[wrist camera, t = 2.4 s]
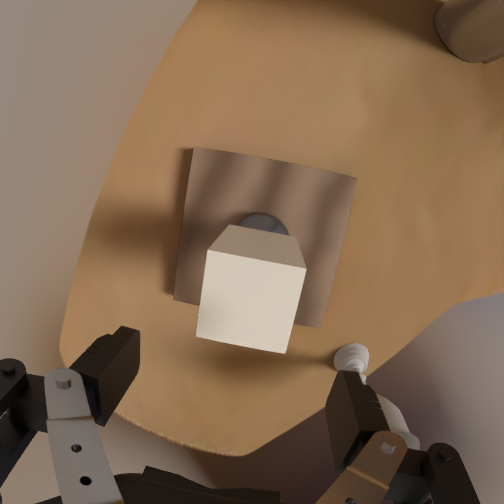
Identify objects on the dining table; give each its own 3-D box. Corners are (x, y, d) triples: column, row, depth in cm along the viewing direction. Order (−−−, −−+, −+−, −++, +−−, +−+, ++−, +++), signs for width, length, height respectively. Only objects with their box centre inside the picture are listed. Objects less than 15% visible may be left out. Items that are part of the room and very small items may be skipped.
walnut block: (352, 177, 35) (357, 177, 33) (318, 321, 40) (320, 328, 38) (198, 148, 35) (194, 147, 34) (177, 294, 40) (173, 299, 38)
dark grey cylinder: (295, 218, 35) (303, 236, 25) (283, 274, 36) (286, 311, 27) (237, 207, 35) (222, 221, 25) (227, 263, 36) (210, 296, 27)
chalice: (315, 366, 41) (332, 468, 24) (346, 328, 40) (384, 423, 22) (355, 386, 42) (385, 482, 24) (386, 351, 40) (433, 441, 23)
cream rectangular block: (296, 237, 27) (306, 268, 18) (282, 299, 28) (285, 353, 19) (229, 224, 27) (207, 249, 18) (219, 287, 28) (196, 336, 19)
